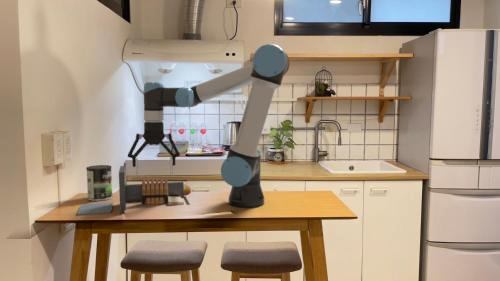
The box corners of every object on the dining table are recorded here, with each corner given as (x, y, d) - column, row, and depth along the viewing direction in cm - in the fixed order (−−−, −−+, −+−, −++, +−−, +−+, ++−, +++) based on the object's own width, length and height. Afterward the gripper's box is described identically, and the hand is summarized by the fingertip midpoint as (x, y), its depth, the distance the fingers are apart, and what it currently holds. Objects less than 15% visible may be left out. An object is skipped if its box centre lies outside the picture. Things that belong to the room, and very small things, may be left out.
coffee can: (117, 196, 176) (116, 165, 175) (104, 201, 166) (102, 169, 165) (96, 195, 178) (95, 164, 177) (82, 200, 168) (81, 168, 167)
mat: (112, 203, 162) (112, 202, 162) (110, 212, 149) (110, 211, 149) (81, 205, 159) (81, 204, 159) (76, 215, 145) (76, 213, 145)
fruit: (193, 197, 172) (187, 180, 170) (170, 205, 170) (164, 188, 168) (191, 191, 182) (186, 175, 181) (169, 199, 181) (164, 183, 179)
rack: (185, 199, 170) (184, 163, 168) (190, 209, 154) (189, 169, 153) (121, 203, 162) (120, 165, 161) (120, 214, 147) (118, 172, 145)
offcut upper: (179, 199, 166) (179, 196, 166) (183, 205, 156) (184, 202, 156) (165, 198, 164) (165, 196, 163) (168, 204, 154) (169, 201, 154)
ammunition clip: (141, 207, 156) (140, 178, 155) (142, 206, 158) (141, 177, 157) (168, 206, 158) (168, 177, 156) (169, 205, 159) (168, 176, 158)
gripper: (184, 121, 162) (184, 171, 164) (121, 120, 155) (122, 173, 157) (186, 122, 154) (186, 174, 157) (120, 121, 147) (121, 177, 150)
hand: (154, 174), depth 157 cm, fingers open, 13 cm apart
